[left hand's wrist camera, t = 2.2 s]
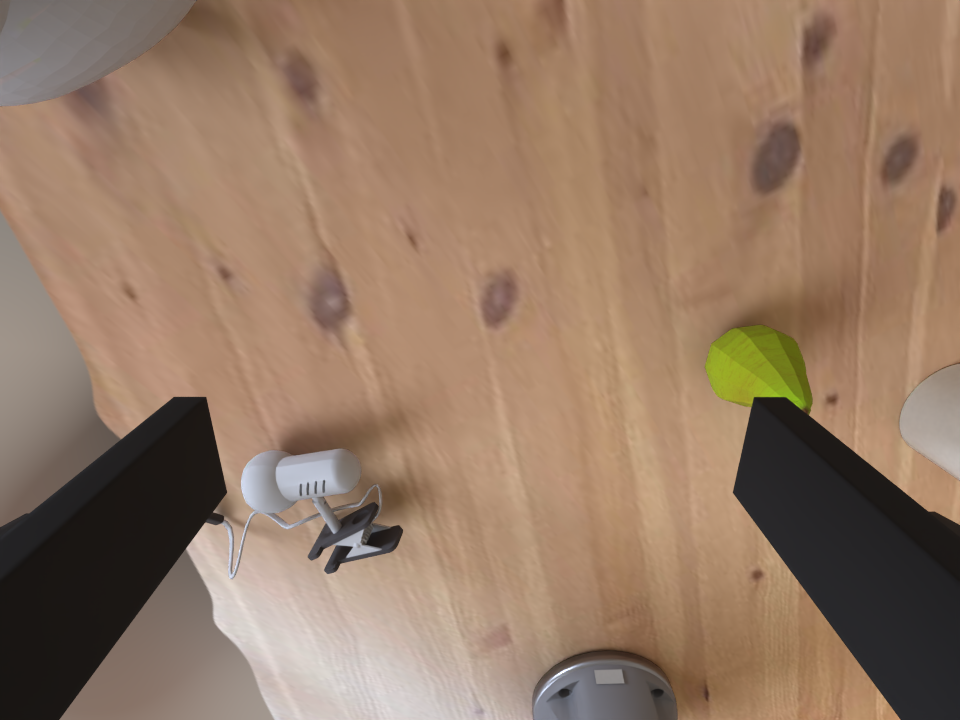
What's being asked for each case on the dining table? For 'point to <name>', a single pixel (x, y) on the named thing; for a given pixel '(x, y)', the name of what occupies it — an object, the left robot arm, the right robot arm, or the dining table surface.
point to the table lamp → (75, 42)
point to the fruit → (758, 367)
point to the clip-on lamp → (290, 478)
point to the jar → (935, 419)
